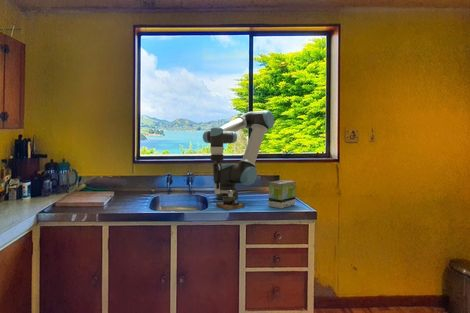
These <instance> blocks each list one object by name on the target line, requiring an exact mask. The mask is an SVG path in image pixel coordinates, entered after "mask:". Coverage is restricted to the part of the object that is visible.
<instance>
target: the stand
mask: <svg viewBox="0 0 470 313" xmlns="http://www.w3.org/2000/svg"><path fill="white" fill-rule="evenodd" d="M215 206H216V208H219V209H220V208H221V209H223V210H226V211H231V210H237V209H242V208H244V209H245V206H246V205H245V203H242V202H238V201H236V200H235V203H232V204H223V201H221V202H217V203H216V205H215Z"/></svg>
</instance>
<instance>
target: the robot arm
mask: <svg viewBox="0 0 470 313" xmlns="http://www.w3.org/2000/svg"><path fill="white" fill-rule="evenodd" d="M274 124H275V117H274V115H273V113H272V112H271V111H270V110H255V111H253V110H252V111H248V112H245V113H242V114H240V115H238V116H237V117H235V119H233V120H231V121H230V122H228V123H225V124H223V125H221V126H220V127H211V128H210V130H208V131H207V130H206V131H204V132H203V134H202V140H203V142H204V143H206V144H210V161H212V162H213V164H212V168H213V170H212V172H213V181H214V183H213V184H214V195H215V194H220V195H215V196H216V199H217V200H222V201H223V196H226V195H228V193H220V190H235V192H234V193H233V196H235V200H238V199H239V198H240V195H239V192H238V189H237V185H243V186H245V185H248V186H249V185H252V184H254V183H255V182H256V179H257V177H258V170H257V167H256V165H255V164H256V160H257V157H258V156H259V155H258V154H259V152H260V148H261V146H262V142H263V140H264V136H265V134H267V133H268V131H269V129H271V128H273V127H274ZM249 128H250V129H252V130H251V133H250V137H249V139H248V142H247V144H246V147H245V150H244V153H243V157H242V159H241V160H239V161H238V162H237V164H236V163H223V164H222V163H221V162H222V161H224V150H225V148H224V145H225V144H230V145H231V144H234V143H236V142H237V139H238V134H237V133H236V132H238V131H240V130H245V129H249Z"/></svg>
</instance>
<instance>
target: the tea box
mask: <svg viewBox="0 0 470 313" xmlns="http://www.w3.org/2000/svg"><path fill="white" fill-rule="evenodd" d="M296 186H297V182H296V181H295V180H288V179H287V180H286V179H282V180H274V181H269V182H268V207H271V208H276V209H277V208H278V209H284V208H288V207H292V206H295V205H296V192H297V188H296ZM294 204H295V205H294ZM291 205H292V206H291Z"/></svg>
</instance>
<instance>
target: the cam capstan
mask: <svg viewBox="0 0 470 313" xmlns="http://www.w3.org/2000/svg"><path fill="white" fill-rule="evenodd" d="M234 192H235V190H220V193H228V195H226V196H223V200H222V202H223V204H232V203H235V201H236V199H235V196H233V193H234ZM214 195H215V196H216V195H220V194H215V193H214Z"/></svg>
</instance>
